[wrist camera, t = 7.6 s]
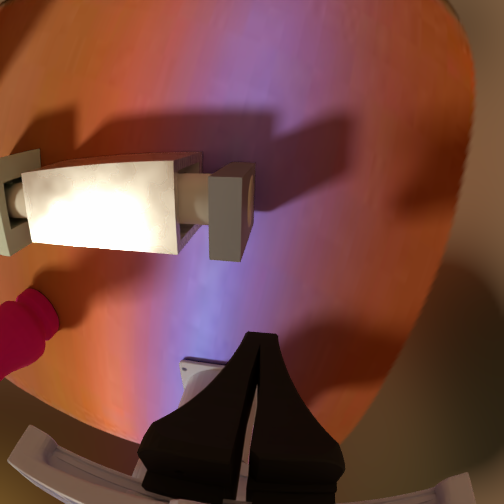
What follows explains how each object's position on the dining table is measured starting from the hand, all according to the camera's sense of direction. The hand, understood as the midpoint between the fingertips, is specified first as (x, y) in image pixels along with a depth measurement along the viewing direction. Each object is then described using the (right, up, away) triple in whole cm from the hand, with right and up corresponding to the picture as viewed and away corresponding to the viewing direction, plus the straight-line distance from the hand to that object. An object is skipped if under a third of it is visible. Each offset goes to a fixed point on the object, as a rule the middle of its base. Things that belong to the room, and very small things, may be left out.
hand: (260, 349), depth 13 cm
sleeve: (-10, +9, +7) cm, 15 cm away
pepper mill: (-25, -2, +15) cm, 29 cm away
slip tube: (-12, +9, +7) cm, 16 cm away
